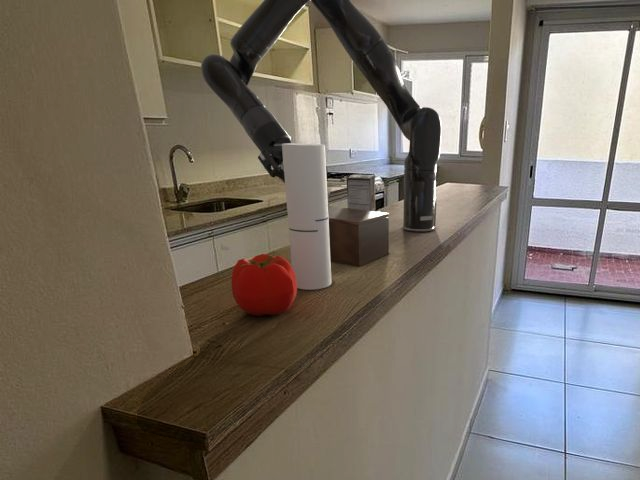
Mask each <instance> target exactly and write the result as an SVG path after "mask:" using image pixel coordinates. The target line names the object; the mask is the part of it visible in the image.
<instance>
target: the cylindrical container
mask: <svg viewBox="0 0 640 480" xmlns="http://www.w3.org/2000/svg"><path fill="white" fill-rule="evenodd" d="M282 152H283V164H284V176H285V183H284V186H285V187H284V188H285V200H286V212H287V213H286V214H287V222H288V235H289V236H288V237H289V249H290V260H291V267H292V269H293V271H294V274H295V276H296V281H297V289H300V290H307V291H308V290H309V291H311V290H312V291H313V290H321V289H322V290H323V289H326V288H328V287H330V286H331V285H332V283H333V282H332V264H331V262H332V261H331V260H330V239H329V218H328V197H327V191H328V179H327V178H328V177H327V160H326V156H327V155H326V144H323V143H322V144H321V143H299V142H296V143H295V142H294V143H292V142H291V143H286V144H282Z"/></svg>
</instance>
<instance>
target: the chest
mask: <svg viewBox="0 0 640 480" xmlns="http://www.w3.org/2000/svg"><path fill="white" fill-rule="evenodd" d="M389 231H390V217H386V218H383V219H379V220H376V221H373V222H369V223H366V224H363V225H359V226H357V225H350V224H343V223H335V222H329V239H330V260H331V262H334V263H339V264H344V265H349V266H356V267H361V266H363V265H366V264H368V263H370V262H373V261H375V260H377V259H381V258H382V257H384V256H386V255H389V254H390V248H389V247H390V246H389V245H390V242H389V241H390V238H389V237H390V234H389V233H390V232H389Z"/></svg>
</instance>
